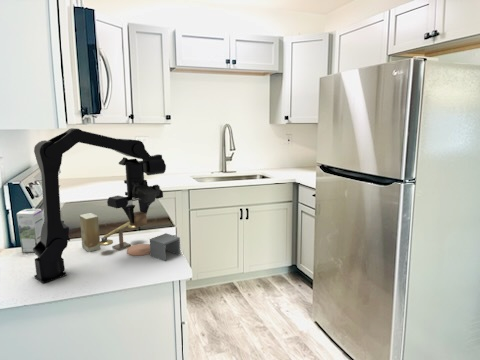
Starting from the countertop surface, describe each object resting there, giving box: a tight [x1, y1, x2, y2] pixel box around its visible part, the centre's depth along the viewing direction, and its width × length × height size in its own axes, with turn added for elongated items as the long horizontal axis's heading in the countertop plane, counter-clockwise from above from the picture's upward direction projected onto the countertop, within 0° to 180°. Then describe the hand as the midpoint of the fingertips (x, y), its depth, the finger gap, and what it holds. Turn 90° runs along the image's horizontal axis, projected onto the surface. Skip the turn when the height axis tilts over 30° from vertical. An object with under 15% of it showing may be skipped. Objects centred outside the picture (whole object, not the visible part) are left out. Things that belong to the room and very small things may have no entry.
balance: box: [99, 220, 139, 252], centre depth 123 cm, size 16×4×9 cm, turn 142°
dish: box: [126, 243, 151, 257], centre depth 120 cm, size 9×9×1 cm
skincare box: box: [79, 212, 101, 253], centre depth 122 cm, size 6×4×12 cm
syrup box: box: [16, 208, 44, 254], centre depth 121 cm, size 6×6×14 cm
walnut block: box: [130, 210, 148, 228], centre depth 118 cm, size 4×4×4 cm
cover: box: [149, 232, 181, 262], centre depth 116 cm, size 7×7×6 cm
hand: (138, 221), depth 118 cm, fingers closed on walnut block, 4 cm apart
